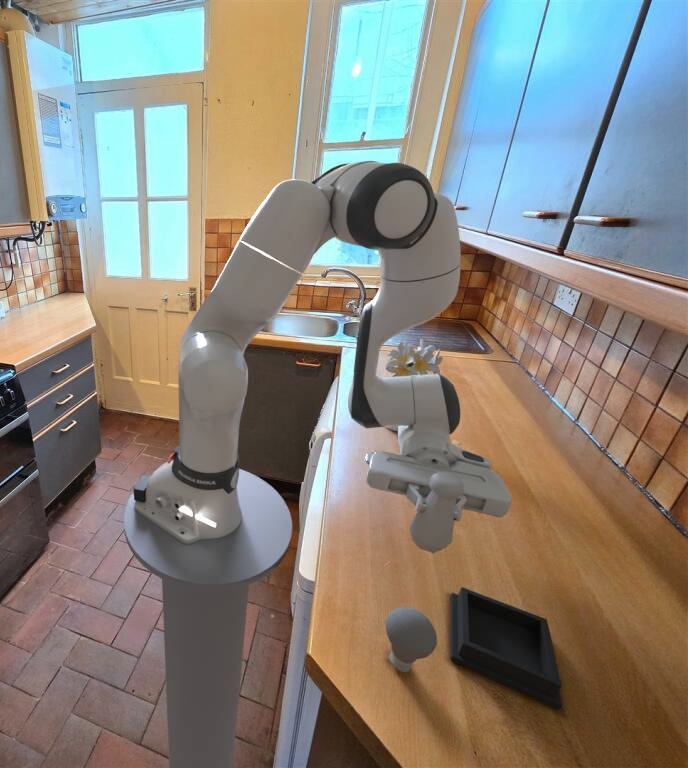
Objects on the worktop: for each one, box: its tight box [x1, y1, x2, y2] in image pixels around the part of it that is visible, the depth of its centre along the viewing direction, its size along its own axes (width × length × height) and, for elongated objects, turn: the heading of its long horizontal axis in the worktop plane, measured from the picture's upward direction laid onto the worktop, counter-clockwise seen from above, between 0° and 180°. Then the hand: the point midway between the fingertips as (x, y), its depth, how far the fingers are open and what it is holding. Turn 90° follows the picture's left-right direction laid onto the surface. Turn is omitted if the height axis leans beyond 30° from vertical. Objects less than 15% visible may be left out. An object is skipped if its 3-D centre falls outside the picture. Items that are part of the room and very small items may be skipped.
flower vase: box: [385, 338, 443, 432], centre depth 110 cm, size 13×18×25 cm
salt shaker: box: [409, 472, 464, 554], centre depth 62 cm, size 6×6×13 cm
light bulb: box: [385, 606, 438, 673], centre depth 55 cm, size 6×6×10 cm
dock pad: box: [449, 586, 563, 711], centre depth 59 cm, size 12×12×4 cm
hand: (439, 513), depth 61 cm, fingers closed on salt shaker, 3 cm apart
